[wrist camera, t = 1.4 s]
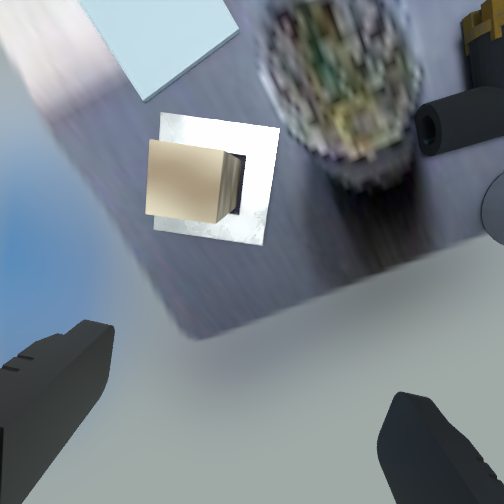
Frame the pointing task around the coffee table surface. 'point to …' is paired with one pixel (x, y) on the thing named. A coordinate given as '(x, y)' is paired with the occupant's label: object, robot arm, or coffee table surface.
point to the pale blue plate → (160, 36)
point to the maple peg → (191, 182)
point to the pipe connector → (475, 100)
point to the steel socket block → (255, 178)
